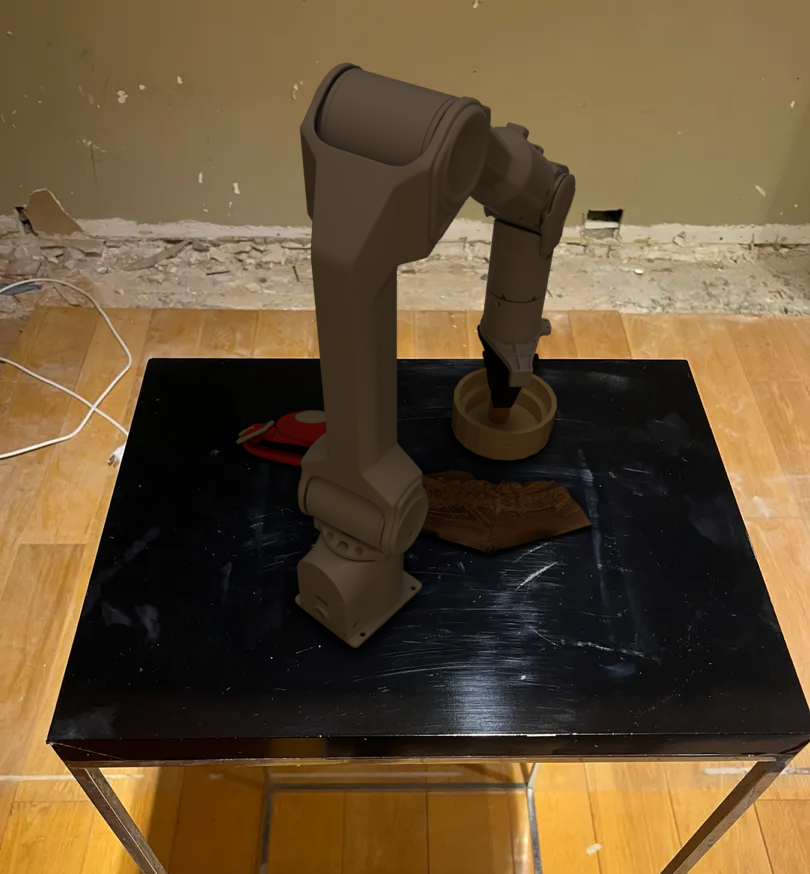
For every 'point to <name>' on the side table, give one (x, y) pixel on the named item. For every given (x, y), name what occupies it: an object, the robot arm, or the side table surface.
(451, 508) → the wooden fragment
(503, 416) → the stick
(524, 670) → the side table surface
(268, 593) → the side table surface
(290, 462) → the tracker holder
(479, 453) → the bowl
